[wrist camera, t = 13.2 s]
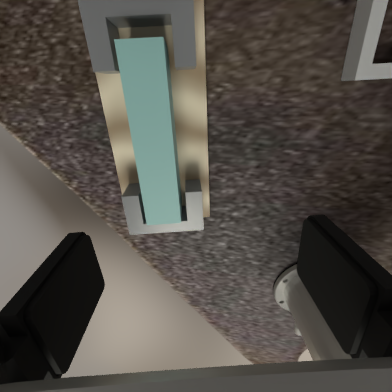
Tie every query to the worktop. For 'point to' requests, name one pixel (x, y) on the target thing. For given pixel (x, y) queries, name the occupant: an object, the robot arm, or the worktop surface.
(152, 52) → the slat
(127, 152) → the base board
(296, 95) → the worktop surface
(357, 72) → the parts tray
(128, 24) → the grey slat holder
